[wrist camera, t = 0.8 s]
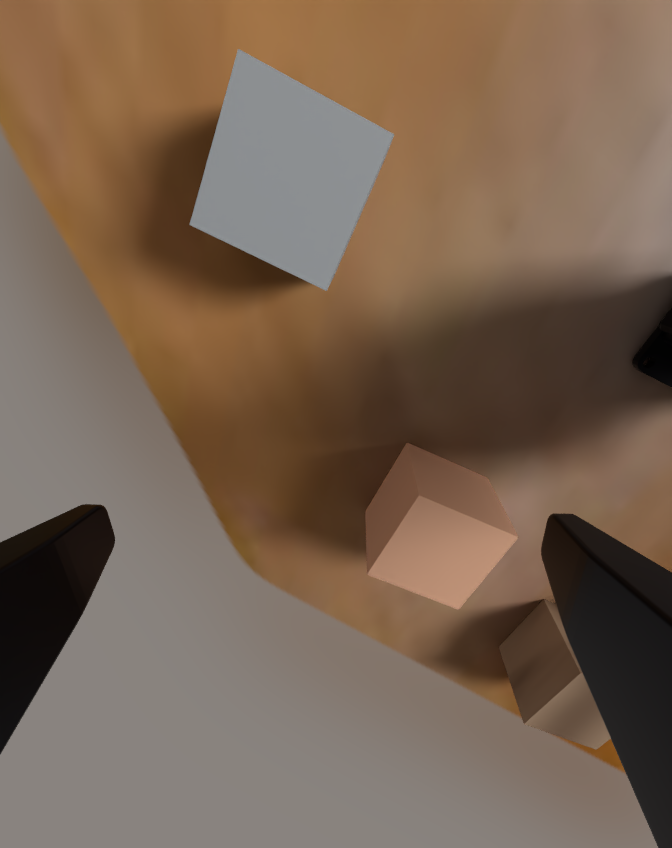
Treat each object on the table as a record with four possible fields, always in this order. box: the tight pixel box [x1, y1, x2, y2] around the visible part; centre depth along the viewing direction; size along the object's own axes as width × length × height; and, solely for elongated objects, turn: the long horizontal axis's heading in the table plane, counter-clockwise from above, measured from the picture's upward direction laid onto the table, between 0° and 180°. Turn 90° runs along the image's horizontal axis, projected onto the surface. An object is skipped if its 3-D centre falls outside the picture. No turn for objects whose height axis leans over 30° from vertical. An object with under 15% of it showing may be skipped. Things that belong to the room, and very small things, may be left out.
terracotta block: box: [365, 443, 518, 610], centre depth 22 cm, size 5×5×5 cm
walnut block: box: [499, 599, 611, 749], centre depth 26 cm, size 5×5×5 cm
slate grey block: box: [190, 49, 394, 291], centre depth 16 cm, size 5×5×5 cm
